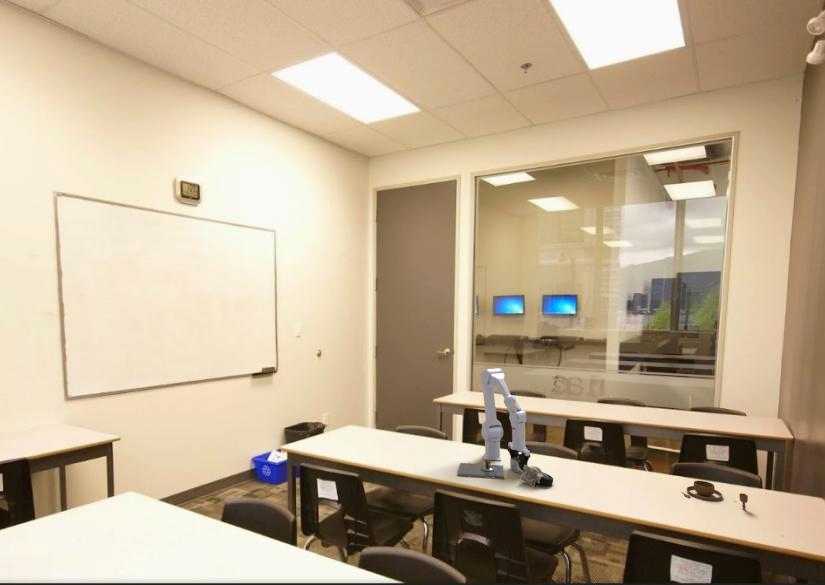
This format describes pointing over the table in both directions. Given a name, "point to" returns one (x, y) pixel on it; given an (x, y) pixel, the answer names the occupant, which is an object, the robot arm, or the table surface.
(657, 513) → the table surface
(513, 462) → the collar
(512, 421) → the robot arm
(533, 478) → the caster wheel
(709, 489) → the place setting
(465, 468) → the plate
